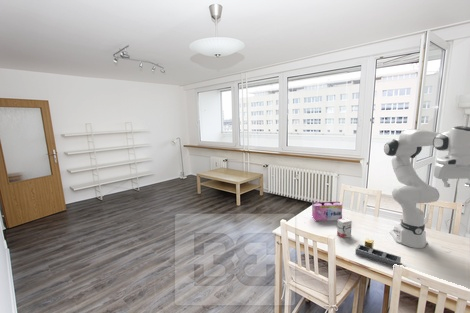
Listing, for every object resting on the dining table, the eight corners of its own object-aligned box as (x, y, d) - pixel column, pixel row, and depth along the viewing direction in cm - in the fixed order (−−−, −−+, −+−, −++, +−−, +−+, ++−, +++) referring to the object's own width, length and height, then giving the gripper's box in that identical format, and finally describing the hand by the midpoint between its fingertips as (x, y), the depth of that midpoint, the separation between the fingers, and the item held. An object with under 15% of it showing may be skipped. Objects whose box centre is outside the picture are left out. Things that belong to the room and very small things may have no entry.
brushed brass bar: (364, 249, 143) (364, 241, 142) (366, 247, 146) (366, 238, 145) (371, 252, 140) (372, 243, 139) (373, 249, 143) (373, 240, 142)
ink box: (341, 238, 158) (342, 222, 157) (336, 234, 163) (337, 219, 161) (351, 235, 161) (352, 220, 159) (346, 232, 165) (346, 217, 164)
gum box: (339, 216, 193) (340, 201, 191) (343, 220, 186) (344, 204, 183) (312, 217, 195) (312, 202, 192) (314, 221, 187) (314, 205, 185)
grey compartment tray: (355, 254, 139) (355, 248, 139) (358, 249, 144) (358, 244, 144) (398, 268, 124) (398, 262, 123) (400, 262, 129) (400, 257, 128)
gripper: (478, 158, 110) (475, 184, 113) (432, 159, 113) (430, 185, 116) (490, 160, 104) (487, 188, 106) (442, 161, 107) (439, 189, 109)
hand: (457, 186), depth 111 cm, fingers open, 8 cm apart
